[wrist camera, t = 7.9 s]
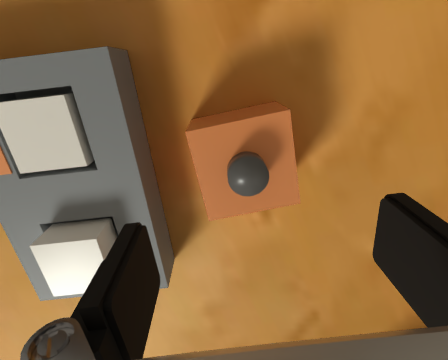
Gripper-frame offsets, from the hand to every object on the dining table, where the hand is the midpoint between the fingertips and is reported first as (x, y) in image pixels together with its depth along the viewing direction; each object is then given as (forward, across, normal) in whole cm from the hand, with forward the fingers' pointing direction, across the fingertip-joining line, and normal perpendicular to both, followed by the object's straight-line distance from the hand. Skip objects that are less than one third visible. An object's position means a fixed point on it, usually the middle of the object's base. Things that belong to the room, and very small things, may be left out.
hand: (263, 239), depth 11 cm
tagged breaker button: (+13, +14, -3) cm, 19 cm away
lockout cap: (+14, 0, +1) cm, 14 cm away
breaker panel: (+14, +14, +2) cm, 20 cm away
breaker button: (+11, +14, +7) cm, 19 cm away
